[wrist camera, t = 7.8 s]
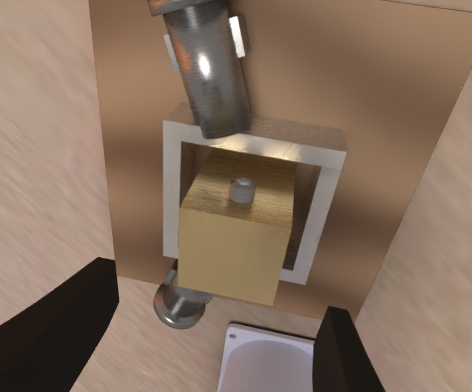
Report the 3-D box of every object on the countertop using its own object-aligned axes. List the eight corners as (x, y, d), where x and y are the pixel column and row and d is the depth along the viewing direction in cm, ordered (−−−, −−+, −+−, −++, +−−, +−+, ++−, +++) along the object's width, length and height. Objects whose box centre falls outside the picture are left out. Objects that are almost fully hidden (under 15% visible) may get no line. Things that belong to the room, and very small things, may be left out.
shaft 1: (265, 109, 16) (257, 136, 14) (200, 121, 17) (180, 148, 14) (238, -25, 14) (221, -26, 11) (163, -4, 14) (131, 1, 12)
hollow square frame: (305, 253, 20) (305, 284, 18) (177, 227, 21) (163, 255, 19) (341, 129, 16) (346, 152, 14) (181, 102, 17) (163, 120, 15)
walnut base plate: (351, 316, 23) (352, 326, 23) (121, 267, 25) (116, 275, 24) (486, 14, 14) (495, 16, 13) (94, -40, 15) (84, -41, 14)
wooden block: (280, 227, 20) (270, 314, 15) (210, 214, 20) (177, 294, 15) (298, 145, 17) (294, 217, 12) (216, 131, 17) (179, 195, 12)
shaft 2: (194, 220, 20) (177, 257, 18) (243, 245, 21) (233, 284, 18) (163, 276, 23) (145, 315, 21) (207, 296, 24) (194, 337, 21)
